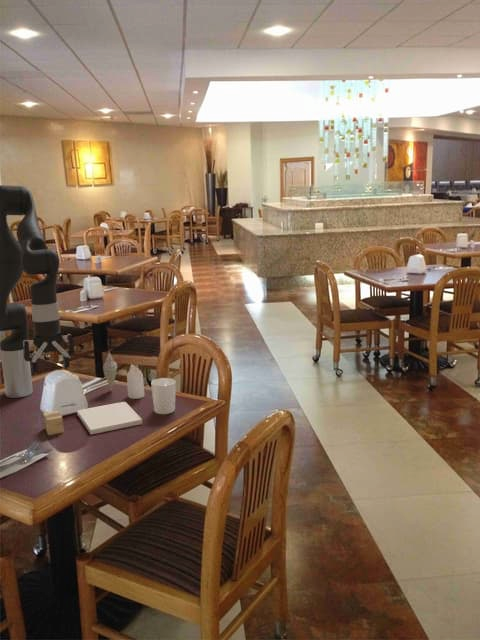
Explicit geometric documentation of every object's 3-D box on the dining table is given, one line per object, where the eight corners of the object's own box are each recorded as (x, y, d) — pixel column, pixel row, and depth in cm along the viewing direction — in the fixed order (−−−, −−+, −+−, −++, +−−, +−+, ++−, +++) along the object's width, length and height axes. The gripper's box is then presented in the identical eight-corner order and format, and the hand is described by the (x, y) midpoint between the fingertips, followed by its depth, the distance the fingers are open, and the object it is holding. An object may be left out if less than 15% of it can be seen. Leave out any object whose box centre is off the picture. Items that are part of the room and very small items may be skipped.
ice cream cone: (110, 394, 204) (108, 353, 201) (101, 391, 207) (98, 351, 204) (121, 390, 208) (119, 350, 205) (112, 387, 211) (109, 348, 208)
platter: (77, 414, 186) (77, 410, 185) (125, 405, 193) (125, 401, 192) (90, 434, 170) (90, 429, 170) (142, 423, 177) (142, 419, 177)
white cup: (165, 404, 193) (163, 376, 191) (181, 409, 188) (180, 381, 186) (147, 411, 187) (146, 382, 185) (164, 417, 182) (162, 387, 180)
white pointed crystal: (145, 362, 200) (136, 367, 195) (147, 395, 203) (137, 400, 198) (132, 360, 203) (122, 364, 198) (134, 392, 205) (124, 397, 201)
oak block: (44, 428, 175) (43, 413, 174) (59, 425, 177) (58, 410, 176) (48, 435, 170) (46, 420, 169) (63, 432, 172) (62, 417, 171)
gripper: (67, 313, 173) (72, 364, 176) (18, 318, 166) (24, 372, 170) (73, 317, 167) (78, 370, 170) (22, 323, 160) (28, 378, 163)
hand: (51, 371), depth 170 cm, fingers open, 8 cm apart
